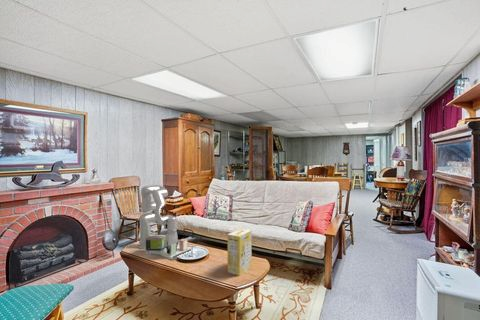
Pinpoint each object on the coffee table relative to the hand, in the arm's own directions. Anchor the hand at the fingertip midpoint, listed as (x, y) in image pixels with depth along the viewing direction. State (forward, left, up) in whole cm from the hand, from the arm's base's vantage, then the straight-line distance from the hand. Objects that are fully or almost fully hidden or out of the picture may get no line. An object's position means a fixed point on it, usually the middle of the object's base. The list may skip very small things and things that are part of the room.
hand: (171, 251), depth 198 cm
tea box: (-19, -2, -4) cm, 20 cm away
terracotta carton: (0, +13, -2) cm, 13 cm away
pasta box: (+61, +15, -4) cm, 63 cm away
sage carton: (0, 0, -2) cm, 2 cm away
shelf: (-2, +6, -4) cm, 7 cm away
